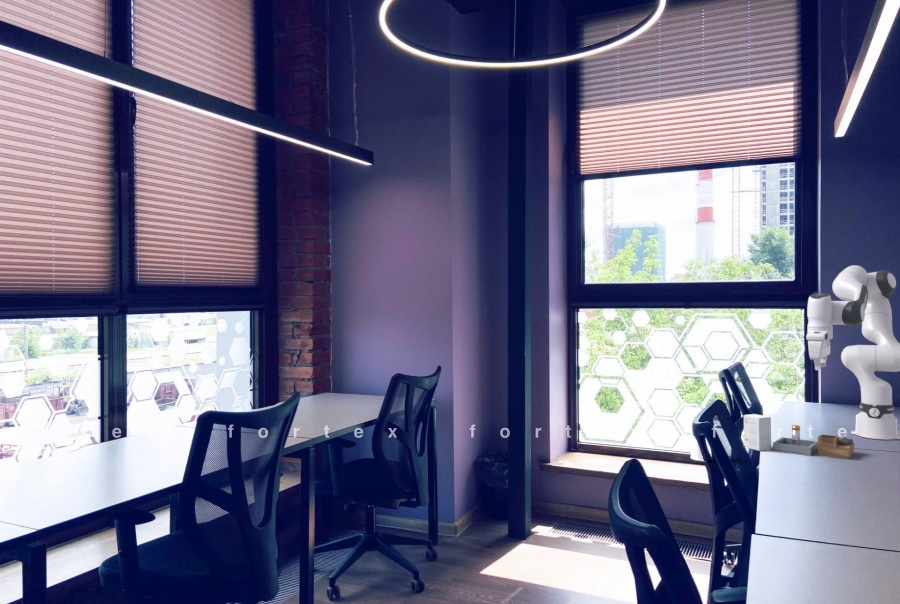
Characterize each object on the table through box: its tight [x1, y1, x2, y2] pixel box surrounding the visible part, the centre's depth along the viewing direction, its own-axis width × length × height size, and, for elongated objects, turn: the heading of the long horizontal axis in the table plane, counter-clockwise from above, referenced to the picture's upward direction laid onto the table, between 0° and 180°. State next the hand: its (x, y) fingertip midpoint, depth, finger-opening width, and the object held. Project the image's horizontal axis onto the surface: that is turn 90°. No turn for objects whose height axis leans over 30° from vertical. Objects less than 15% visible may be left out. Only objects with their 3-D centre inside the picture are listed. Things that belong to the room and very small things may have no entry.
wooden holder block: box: [817, 433, 855, 460], centre depth 248 cm, size 12×10×7 cm
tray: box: [772, 436, 818, 457], centre depth 255 cm, size 13×13×3 cm
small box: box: [743, 413, 772, 452], centre depth 259 cm, size 8×6×13 cm
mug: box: [690, 428, 705, 462], centre depth 243 cm, size 12×8×12 cm
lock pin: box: [791, 424, 801, 446], centre depth 255 cm, size 3×3×9 cm
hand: (820, 368), depth 260 cm, fingers open, 8 cm apart
